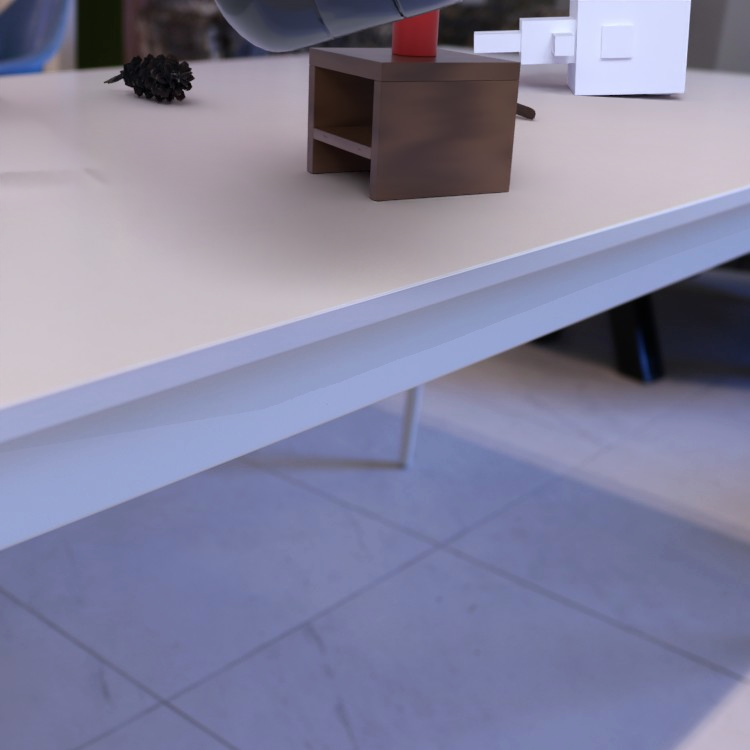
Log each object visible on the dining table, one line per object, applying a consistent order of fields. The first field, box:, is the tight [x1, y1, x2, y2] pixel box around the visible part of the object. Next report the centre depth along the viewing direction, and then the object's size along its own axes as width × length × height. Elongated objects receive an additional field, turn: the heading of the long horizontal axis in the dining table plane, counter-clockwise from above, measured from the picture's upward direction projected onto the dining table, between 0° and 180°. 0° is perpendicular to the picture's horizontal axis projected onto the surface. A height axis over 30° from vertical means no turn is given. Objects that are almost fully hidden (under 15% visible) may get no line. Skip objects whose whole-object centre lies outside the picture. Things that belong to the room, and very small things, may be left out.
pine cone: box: [103, 52, 196, 104], centre depth 114 cm, size 18×5×5 cm, turn 39°
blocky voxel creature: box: [473, 0, 692, 96], centre depth 142 cm, size 15×25×28 cm
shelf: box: [306, 47, 522, 202], centre depth 76 cm, size 11×11×9 cm
